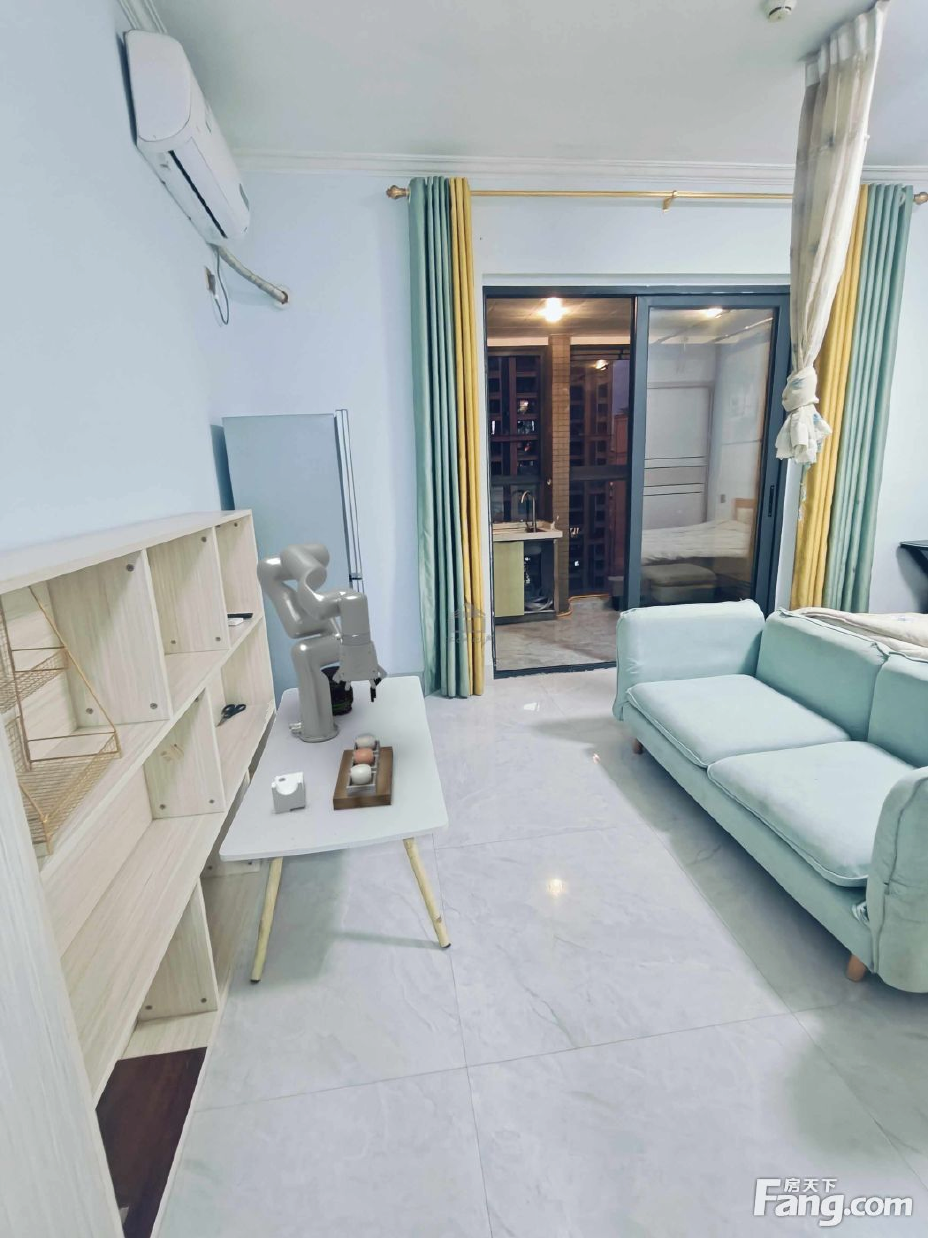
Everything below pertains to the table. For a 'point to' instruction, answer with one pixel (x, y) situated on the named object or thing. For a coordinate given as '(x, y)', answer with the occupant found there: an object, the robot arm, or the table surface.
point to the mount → (371, 792)
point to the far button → (366, 741)
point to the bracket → (288, 792)
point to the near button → (361, 774)
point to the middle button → (363, 756)
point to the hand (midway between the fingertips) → (362, 700)
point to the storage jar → (337, 693)
